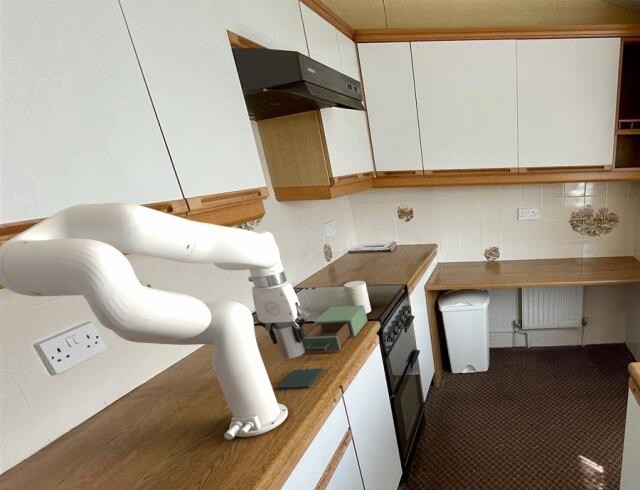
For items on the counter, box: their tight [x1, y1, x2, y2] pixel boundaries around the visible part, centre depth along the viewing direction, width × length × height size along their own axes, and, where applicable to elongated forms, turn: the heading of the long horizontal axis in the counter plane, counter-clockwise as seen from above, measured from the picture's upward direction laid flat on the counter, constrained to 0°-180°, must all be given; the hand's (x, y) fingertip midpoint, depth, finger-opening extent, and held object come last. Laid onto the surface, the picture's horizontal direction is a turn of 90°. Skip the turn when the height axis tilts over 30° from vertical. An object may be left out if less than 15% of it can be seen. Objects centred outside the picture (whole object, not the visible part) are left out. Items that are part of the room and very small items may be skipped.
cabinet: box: [313, 305, 368, 338], centre depth 150 cm, size 15×13×7 cm
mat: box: [276, 368, 324, 390], centre depth 119 cm, size 10×9×1 cm
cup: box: [343, 280, 372, 315], centre depth 166 cm, size 8×8×12 cm
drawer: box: [302, 322, 352, 353], centre depth 137 cm, size 18×12×5 cm, turn 1°
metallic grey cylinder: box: [272, 322, 306, 359], centre depth 114 cm, size 6×6×9 cm
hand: (289, 340), depth 114 cm, fingers closed on metallic grey cylinder, 6 cm apart
